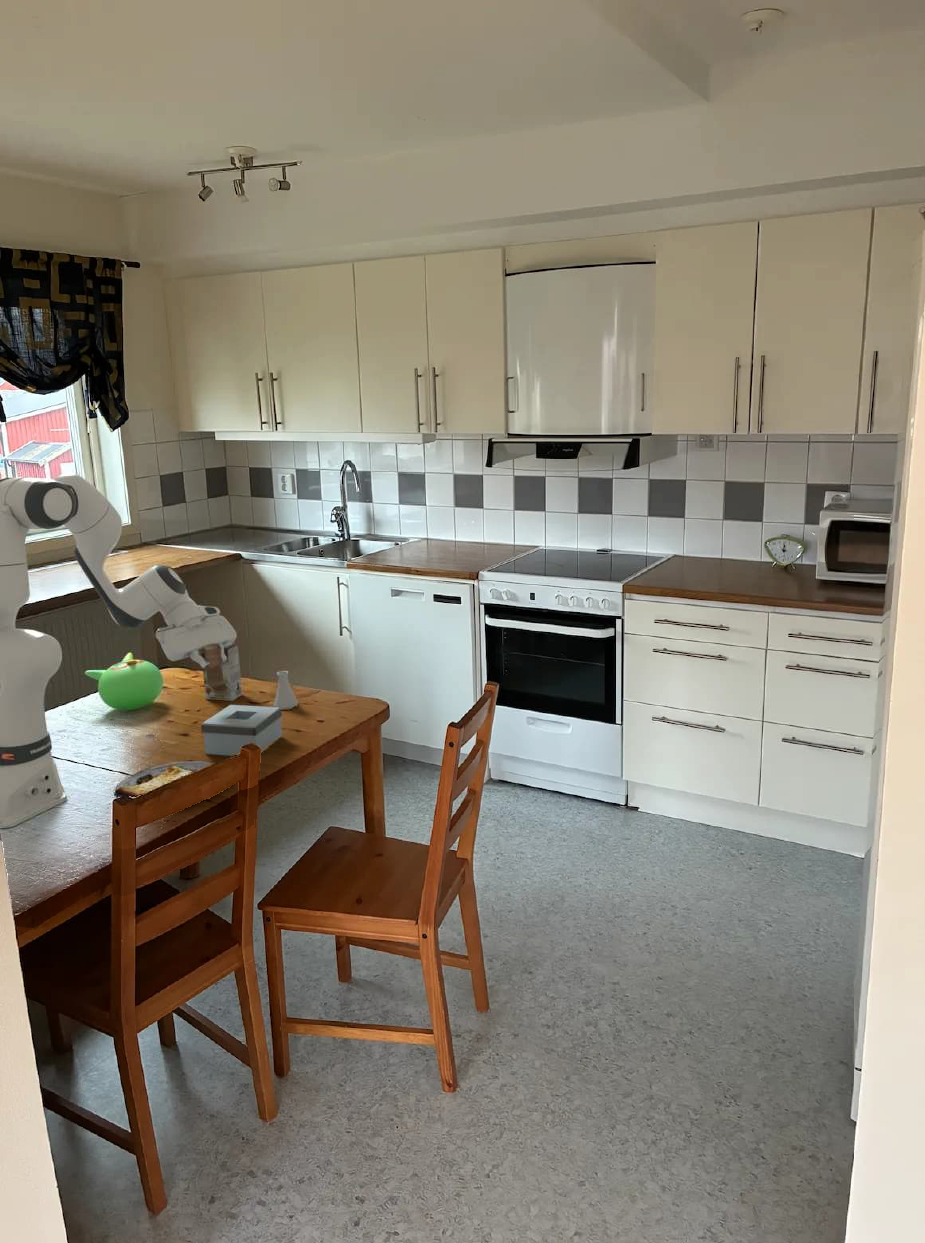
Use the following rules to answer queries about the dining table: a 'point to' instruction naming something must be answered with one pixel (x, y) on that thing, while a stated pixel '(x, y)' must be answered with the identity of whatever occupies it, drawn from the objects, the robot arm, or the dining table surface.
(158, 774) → the food plate
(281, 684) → the flask
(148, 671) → the toy bird
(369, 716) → the dining table surface
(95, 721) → the dining table surface
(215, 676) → the beige cylinder
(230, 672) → the coffee box
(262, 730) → the collar block
